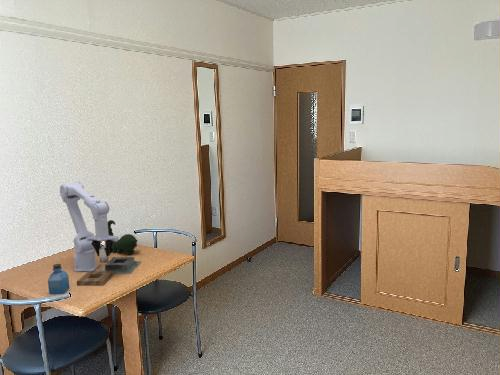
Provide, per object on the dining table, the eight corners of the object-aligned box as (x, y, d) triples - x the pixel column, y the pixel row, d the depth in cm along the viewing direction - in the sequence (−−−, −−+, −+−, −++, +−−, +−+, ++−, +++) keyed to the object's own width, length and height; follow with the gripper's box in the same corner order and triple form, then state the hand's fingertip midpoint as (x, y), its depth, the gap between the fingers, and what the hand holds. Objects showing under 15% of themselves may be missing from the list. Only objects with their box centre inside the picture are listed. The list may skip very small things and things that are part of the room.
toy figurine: (102, 254, 234) (132, 257, 220) (97, 221, 232) (127, 223, 218) (115, 249, 242) (145, 252, 228) (111, 218, 240) (141, 219, 226)
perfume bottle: (69, 288, 184) (67, 262, 182) (63, 293, 178) (61, 267, 176) (55, 288, 184) (52, 262, 182) (49, 294, 178) (46, 267, 176)
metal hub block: (98, 273, 200) (97, 266, 200) (110, 262, 216) (110, 255, 215) (130, 273, 199) (130, 266, 199) (141, 262, 215) (140, 255, 214)
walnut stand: (77, 285, 187) (76, 281, 186) (88, 275, 198) (88, 271, 198) (103, 285, 186) (102, 281, 186) (113, 275, 198) (112, 271, 197)
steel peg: (98, 262, 195) (97, 248, 194) (102, 260, 199) (100, 246, 198) (106, 263, 195) (105, 248, 193) (110, 260, 199) (108, 246, 197)
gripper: (82, 230, 191) (85, 258, 193) (113, 230, 190) (115, 258, 192) (89, 226, 198) (91, 253, 200) (119, 226, 197) (121, 253, 199)
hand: (103, 255), depth 196 cm, fingers closed on steel peg, 4 cm apart
